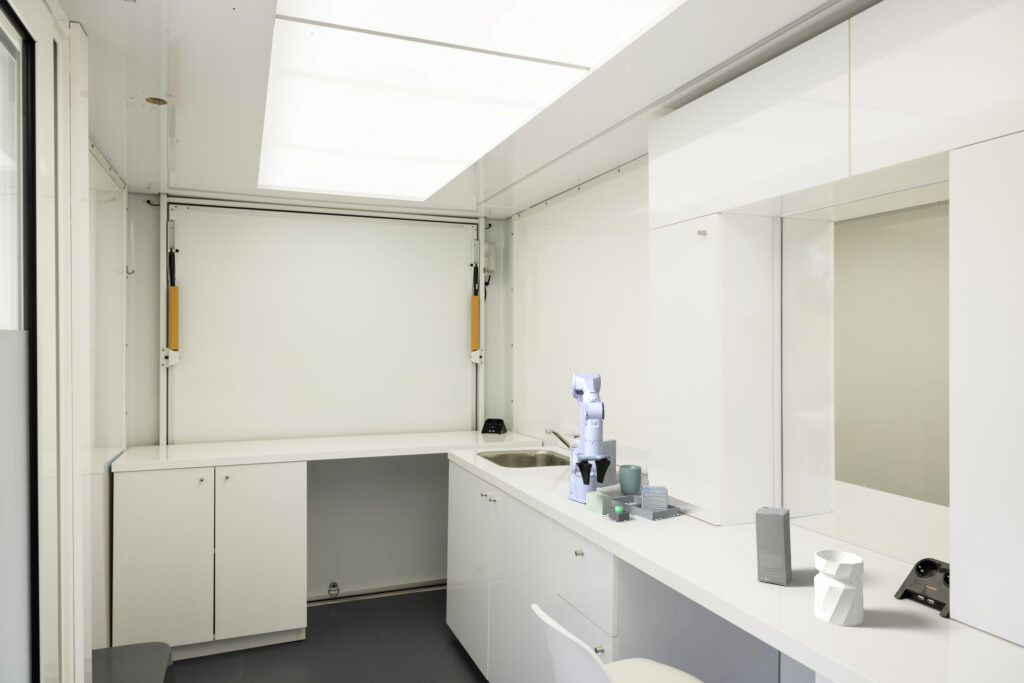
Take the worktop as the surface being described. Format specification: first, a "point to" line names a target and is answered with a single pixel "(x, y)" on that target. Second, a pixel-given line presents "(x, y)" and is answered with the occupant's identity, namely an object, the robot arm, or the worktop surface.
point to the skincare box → (773, 545)
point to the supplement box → (608, 446)
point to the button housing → (619, 515)
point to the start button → (619, 509)
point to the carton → (598, 502)
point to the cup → (630, 479)
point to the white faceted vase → (838, 588)
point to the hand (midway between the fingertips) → (593, 483)
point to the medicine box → (654, 498)
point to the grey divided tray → (642, 512)
